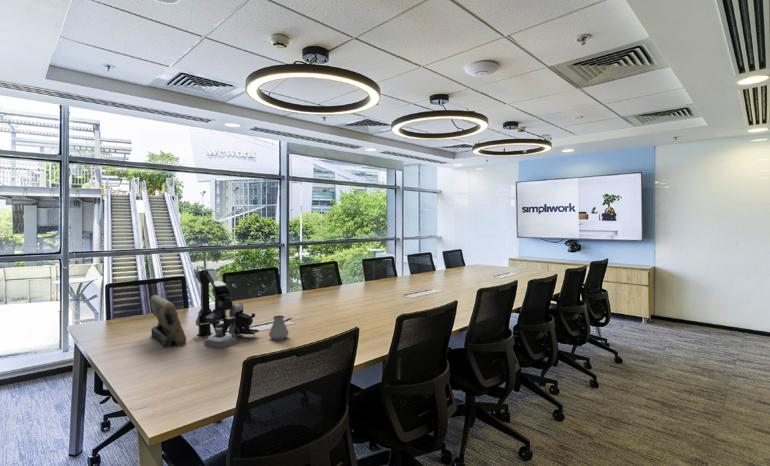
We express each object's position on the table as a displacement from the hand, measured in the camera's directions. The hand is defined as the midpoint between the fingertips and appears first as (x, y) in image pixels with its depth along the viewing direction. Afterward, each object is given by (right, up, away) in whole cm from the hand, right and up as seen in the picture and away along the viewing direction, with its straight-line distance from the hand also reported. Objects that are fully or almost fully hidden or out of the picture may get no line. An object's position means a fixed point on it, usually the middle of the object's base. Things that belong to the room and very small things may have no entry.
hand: (220, 334), depth 224 cm
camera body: (0, -6, 0) cm, 6 cm away
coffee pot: (+33, -6, +9) cm, 35 cm away
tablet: (-34, -5, +7) cm, 35 cm away
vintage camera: (+9, -6, +14) cm, 17 cm away
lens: (0, -1, 0) cm, 1 cm away
